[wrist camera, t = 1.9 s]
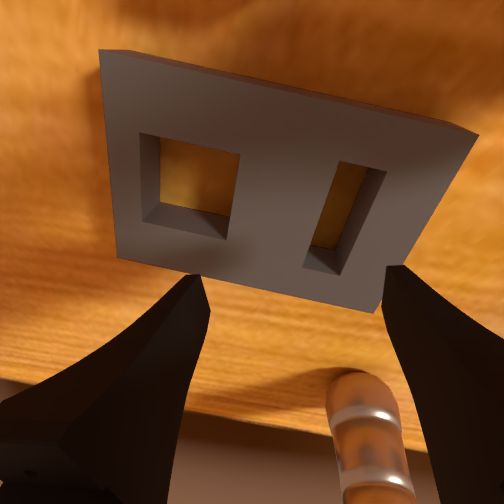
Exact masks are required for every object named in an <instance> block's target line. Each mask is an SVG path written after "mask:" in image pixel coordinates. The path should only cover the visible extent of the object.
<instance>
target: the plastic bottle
mask: <svg viewBox="0 0 504 504" xmlns="http://www.w3.org/2000/svg"><path fill="white" fill-rule="evenodd" d="M325 408H326V414H327V418H328V423H329V427H330V430H331V433H332V435H333V440H334V446H335V451H336V457H337V462H338V468H339V474H340V486H341V493H342V498H341V502H342V504H418V502H417V500H416V499H415V492H414V489H413V486H412V483H411V480H410V475H409V470H408V465H407V460H406V455H405V450H404V445H403V440H402V435H401V432H402V430H401V419H400V413H399V407H398V404H397V402H396V399H395V397H394V395H393V393H392V391H391V389H390V388H389V386H387V385H386V384H385V383H384V382H383V381H382V380H381V379H379V378H378V377H376V376H374V375H371V374H368V373H362V372H353V373H347V374H343V375H341V376H339V377H337V378H336V379H335V380H334V381H333V382H332V383H331V385H330V386H329V388H328V390H327V394H326V405H325Z"/></svg>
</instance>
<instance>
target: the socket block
mask: <svg viewBox="0 0 504 504" xmlns="http://www.w3.org/2000/svg"><path fill="white" fill-rule="evenodd" d="M98 50H99V61H100V72H101V83H102V94H103V105H104V117H105V128H106V139H107V150H108V161H109V172H110V183H111V194H112V205H113V216H114V228H115V239H116V250H117V258H121V259H125V260H130V261H135V262H139V263H144V264H148V265H153V266H157V267H162V268H167V269H171V270H176V271H180V272H185V273H189V274H200V276H203V277H208V278H212V279H217V280H221V281H226V282H230V283H235V284H240V285H244V286H249V287H253V288H258V289H262V290H267V291H272V292H276V293H281V294H285V295H290V296H294V297H299V298H303V299H308V300H313V301H317V302H322V303H326V304H331V305H335V306H340V307H345V308H349V309H354V310H358V311H363V312H367V313H372V314H373V313H374V312H375V310H376V308H377V307H378V305H379V303H380V301H381V300H382V297H383V289H384V281H385V273H386V266H390V265H402V264H403V263H404V261H405V259H406V258H407V256H408V254H409V253H410V251H411V249H412V248H413V246H414V244H415V243H416V241H417V239H418V238H419V236H420V234H421V232H422V231H423V229H424V227H425V226H426V224H427V222H428V221H429V219H430V217H431V216H432V214H433V212H434V211H435V209H436V207H437V206H438V204H439V202H440V201H441V199H442V197H443V195H444V194H445V192H446V190H447V189H448V187H449V185H450V184H451V182H452V180H453V179H454V177H455V175H456V174H457V172H458V170H459V169H460V167H461V165H462V164H463V162H464V160H465V158H466V157H467V155H468V153H469V152H470V150H471V148H472V147H473V145H474V143H475V142H476V140H477V138H478V137H479V135H478V134H476V133H474V132H471V131H469V130H467V129H465V128H462V127H460V126H458V125H456V124H453V123H451V122H446V121H442V120H438V119H433V118H429V117H424V116H420V115H415V114H411V113H406V112H402V111H398V110H393V109H389V108H384V107H380V106H375V105H371V104H366V103H362V102H357V101H353V100H349V99H344V98H340V97H335V96H331V95H326V94H322V93H317V92H313V91H309V90H304V89H300V88H295V87H291V86H286V85H282V84H277V83H273V82H269V81H264V80H260V79H255V78H251V77H246V76H242V75H237V74H233V73H228V72H224V71H220V70H215V69H211V68H206V67H202V66H197V65H193V64H188V63H184V62H180V61H175V60H171V59H166V58H162V57H157V56H153V55H148V54H144V53H140V52H135V51H131V50H103V49H98ZM160 137H163V138H167V139H172V140H176V141H181V142H185V143H190V144H194V145H199V146H203V147H208V148H212V149H217V150H221V151H226V152H230V153H235V154H239V155H240V160H239V166H238V172H237V179H236V185H235V191H234V197H233V203H232V209H231V216H230V217H226V216H221V215H217V214H212V213H208V212H203V211H199V210H194V209H189V208H185V207H180V206H176V205H171V204H167V203H162V202H160ZM340 161H343V162H347V163H352V164H356V165H361V166H365V167H369V169H368V171H367V174H366V176H365V179H364V181H363V183H362V186H361V188H360V191H359V193H358V195H357V198H356V200H355V203H354V205H353V207H352V210H351V212H350V215H349V217H348V219H347V222H346V224H345V227H344V229H343V231H342V234H341V236H340V239H339V241H338V243H337V246H336V248H335V250H330V249H325V248H321V247H316V246H312V245H310V243H311V241H312V238H313V235H314V232H315V229H316V226H317V224H318V221H319V218H320V215H321V212H322V210H323V207H324V204H325V201H326V198H327V195H328V193H329V190H330V187H331V184H332V181H333V179H334V176H335V173H336V170H337V167H338V164H339V162H340Z"/></svg>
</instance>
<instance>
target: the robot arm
mask: <svg viewBox="0 0 504 504" xmlns="http://www.w3.org/2000/svg"><path fill="white" fill-rule="evenodd" d="M381 308H382V312H383V316H384V320H385V324H386V328H387V332H388V334H389V337H390V339H391V342H392V345H393V347H394V350H395V352H396V355H397V357H398V360H399V362H400V365H401V367H402V370H403V372H404V375H405V377H406V380H407V382H408V385H409V388H410V391H411V393H412V396H413V399H414V403H415V406H416V410H417V413H418V417H419V420H420V424H421V427H422V431H423V435H424V438H425V442H426V446H427V450H428V454H429V457H430V461H431V465H432V469H433V473H434V478H435V482H436V486H437V490H438V494H439V498H440V502H441V504H504V339H503V338H501V337H499V336H498V335H496V334H495V333H493V332H491V331H490V330H488V329H487V328H485V327H484V326H482V325H481V324H479V323H478V322H476V321H475V320H473V319H472V318H470V317H469V316H468V315H466V314H465V313H463V312H462V311H461V310H459V309H458V308H456V307H455V306H454V305H452V304H451V303H450V302H449V301H447V300H446V299H445V298H443V297H442V296H441V295H440V294H438V293H437V292H436V291H435V290H433V289H432V288H431V287H430V286H429V285H427V284H426V283H425V282H424V281H423V280H421V279H420V278H419V277H418V276H417V275H416V274H414V273H413V272H412V271H411V270H410V269H409V268H407V267H406V266H405V265H390V266H386V273H385V281H384V289H383V297H382V305H381ZM210 312H211V310H210V307H209V303H208V300H207V297H206V293H205V290H204V286H203V283H202V279H201V276H200V274H191V275H185V276H184V277H183V278H182V279H181V280H180V281H178V282H177V283H176V284H175V285H174V286H173V287H172V288H171V289H170V290H169V291H168V292H167V293H166V294H165V295H164V296H163V297H162V298H161V299H160V300H159V301H157V302H156V303H155V304H154V305H153V306H152V307H151V308H150V309H149V310H148V311H146V312H145V313H144V314H143V315H142V316H141V317H140V318H138V319H137V320H136V321H135V322H134V323H133V324H131V325H130V326H129V327H128V328H126V329H125V330H124V331H123V332H121V333H120V334H119V335H117V336H116V337H114V338H113V339H112V340H110V341H109V342H108V343H106V344H105V345H103V346H102V347H100V348H99V349H97V350H96V351H94V352H92V353H91V354H89V355H88V356H86V357H85V358H83V359H82V360H80V361H78V362H77V363H75V364H73V365H72V366H70V367H68V368H66V369H65V370H63V371H61V372H59V373H57V374H56V375H54V376H52V377H50V378H48V379H46V380H44V381H42V382H41V383H39V384H37V385H34V386H33V387H30V388H28V389H26V390H24V391H22V392H20V393H18V394H16V395H14V396H12V397H10V398H8V399H5V400H3V401H2V402H1V403H0V480H1V481H3V484H2V485H1V487H0V504H167V499H168V492H169V486H170V479H171V473H172V467H173V460H174V455H175V450H176V444H177V439H178V434H179V429H180V424H181V419H182V414H183V410H184V405H185V401H186V396H187V392H188V389H189V385H190V382H191V379H192V376H193V373H194V370H195V367H196V364H197V361H198V358H199V355H200V352H201V349H202V346H203V343H204V339H205V336H206V333H207V328H208V323H209V317H210Z"/></svg>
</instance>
